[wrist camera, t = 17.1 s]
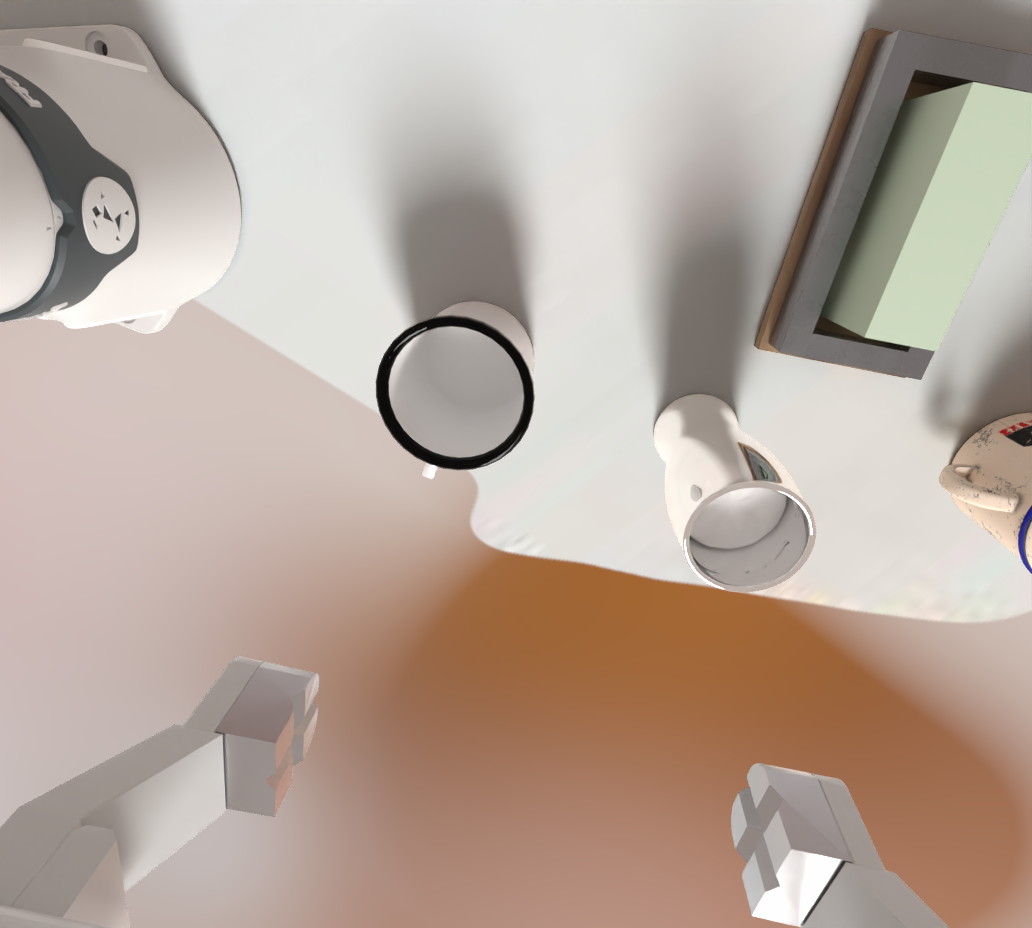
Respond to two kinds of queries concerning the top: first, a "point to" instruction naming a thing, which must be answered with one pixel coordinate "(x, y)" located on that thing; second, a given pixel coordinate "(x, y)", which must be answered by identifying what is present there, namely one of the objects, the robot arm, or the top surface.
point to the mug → (458, 387)
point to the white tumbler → (730, 498)
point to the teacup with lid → (997, 482)
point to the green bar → (931, 213)
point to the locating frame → (866, 189)
